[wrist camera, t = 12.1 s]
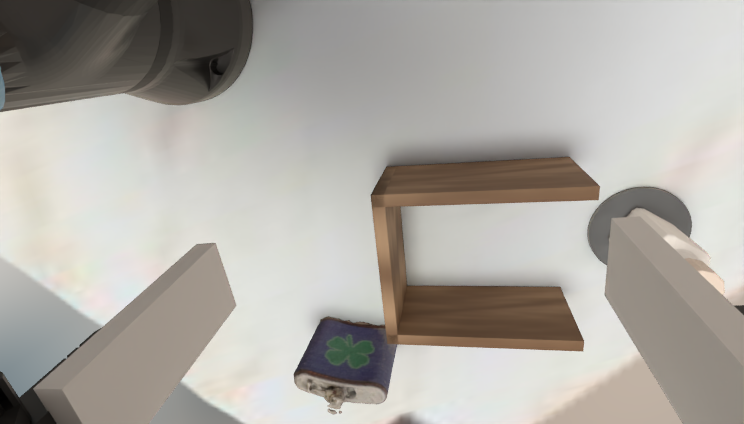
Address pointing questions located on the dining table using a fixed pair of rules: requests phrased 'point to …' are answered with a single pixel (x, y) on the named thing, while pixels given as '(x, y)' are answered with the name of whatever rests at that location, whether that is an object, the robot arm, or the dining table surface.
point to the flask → (347, 363)
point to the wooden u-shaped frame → (473, 303)
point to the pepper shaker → (682, 246)
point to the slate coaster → (628, 201)
